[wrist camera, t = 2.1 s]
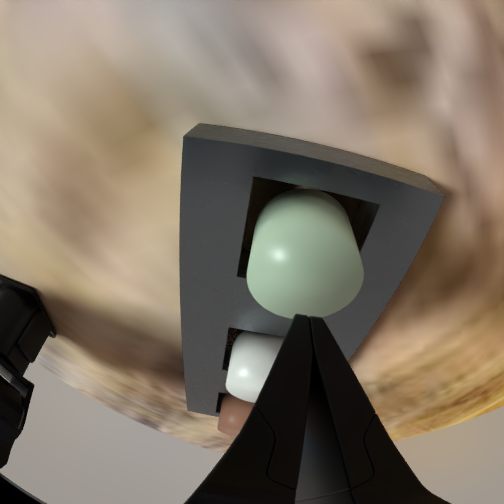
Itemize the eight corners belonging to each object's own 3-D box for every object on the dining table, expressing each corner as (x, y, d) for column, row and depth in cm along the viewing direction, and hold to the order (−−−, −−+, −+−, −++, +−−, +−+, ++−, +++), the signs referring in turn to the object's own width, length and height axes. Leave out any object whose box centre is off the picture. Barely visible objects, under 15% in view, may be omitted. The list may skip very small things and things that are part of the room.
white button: (230, 357, 19) (223, 397, 16) (237, 321, 16) (228, 367, 14) (289, 367, 19) (287, 406, 16) (306, 332, 16) (307, 378, 14)
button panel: (191, 392, 26) (187, 410, 24) (198, 123, 11) (183, 136, 9) (293, 408, 26) (292, 426, 24) (426, 176, 11) (444, 196, 10)
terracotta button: (221, 404, 24) (216, 433, 22) (225, 386, 21) (218, 419, 19) (265, 411, 24) (262, 440, 22) (275, 393, 21) (272, 427, 19)
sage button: (248, 260, 13) (239, 309, 11) (264, 179, 11) (257, 219, 9) (333, 275, 14) (339, 325, 11) (363, 201, 11) (382, 245, 9)
